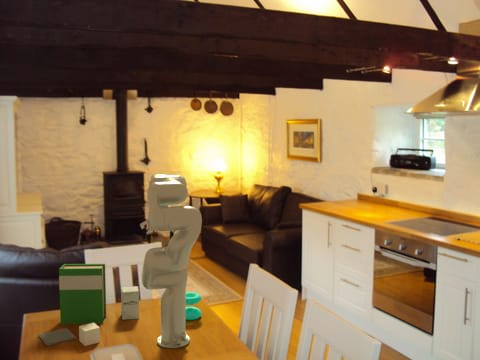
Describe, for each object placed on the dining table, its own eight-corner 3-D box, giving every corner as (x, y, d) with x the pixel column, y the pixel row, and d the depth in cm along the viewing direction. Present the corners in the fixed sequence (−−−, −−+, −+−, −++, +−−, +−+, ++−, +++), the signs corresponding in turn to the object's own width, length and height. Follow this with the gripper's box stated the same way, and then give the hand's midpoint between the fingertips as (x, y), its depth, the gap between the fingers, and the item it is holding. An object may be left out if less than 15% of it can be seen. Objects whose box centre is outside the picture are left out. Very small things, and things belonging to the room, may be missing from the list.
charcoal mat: (75, 338, 199) (75, 336, 198) (47, 346, 192) (47, 344, 192) (66, 329, 207) (66, 327, 207) (38, 336, 200) (38, 334, 200)
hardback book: (106, 316, 222) (105, 263, 219) (102, 323, 214) (101, 268, 212) (65, 317, 220) (63, 264, 218) (60, 324, 213) (58, 269, 210)
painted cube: (100, 342, 196) (99, 327, 195) (85, 346, 192) (84, 331, 192) (94, 337, 201) (93, 322, 200) (79, 340, 197) (78, 326, 196)
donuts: (204, 297, 219) (182, 300, 215) (204, 319, 220) (182, 322, 216) (197, 290, 228) (175, 292, 224) (197, 311, 229) (176, 314, 225)
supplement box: (122, 320, 218) (121, 292, 216) (121, 314, 225) (120, 286, 223) (139, 318, 219) (139, 290, 218) (138, 312, 227) (137, 285, 225)
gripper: (141, 205, 210) (141, 245, 212) (181, 203, 216) (181, 242, 218) (138, 202, 217) (138, 241, 219) (177, 200, 223) (177, 238, 225)
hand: (160, 241), depth 218 cm, fingers open, 9 cm apart
